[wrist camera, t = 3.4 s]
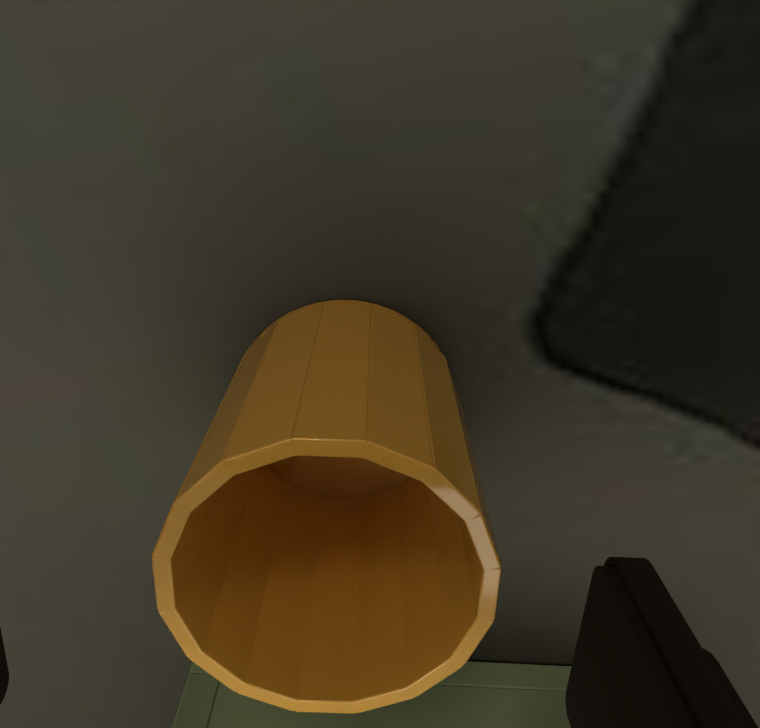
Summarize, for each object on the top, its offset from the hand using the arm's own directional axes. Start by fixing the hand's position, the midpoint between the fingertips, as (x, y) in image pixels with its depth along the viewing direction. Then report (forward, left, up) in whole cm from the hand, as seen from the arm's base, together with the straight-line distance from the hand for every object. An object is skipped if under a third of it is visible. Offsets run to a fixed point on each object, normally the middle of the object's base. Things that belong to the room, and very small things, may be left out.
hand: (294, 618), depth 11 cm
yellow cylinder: (0, +1, -7) cm, 7 cm away
